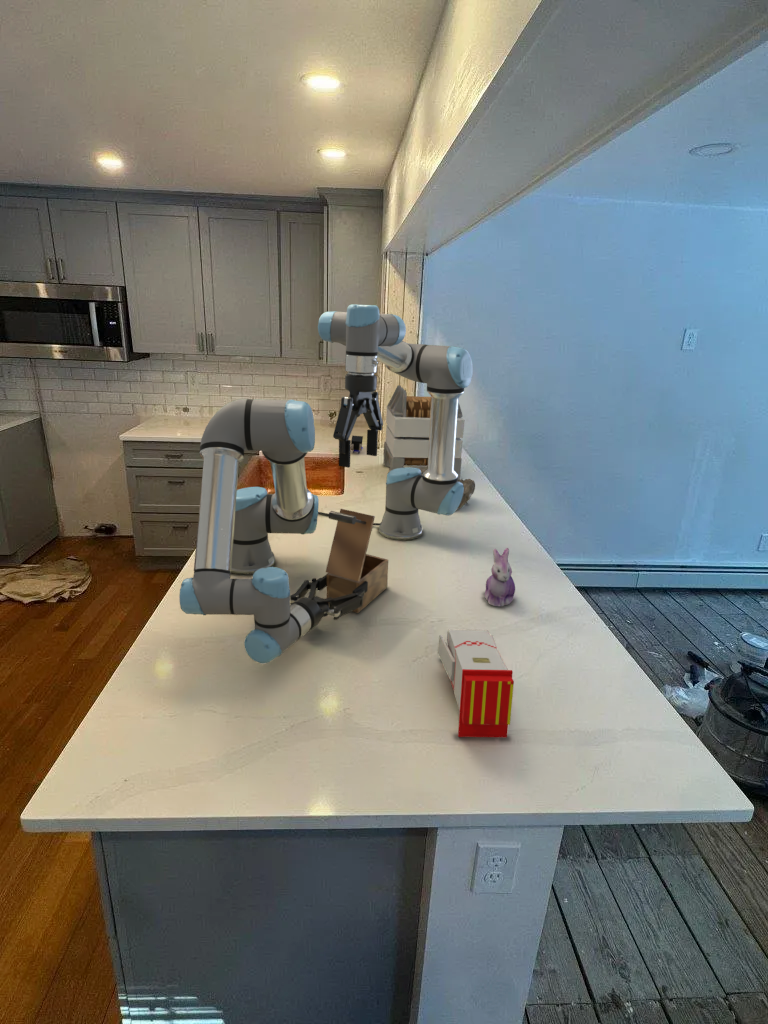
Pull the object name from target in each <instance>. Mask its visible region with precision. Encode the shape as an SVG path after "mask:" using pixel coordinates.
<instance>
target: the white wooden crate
mask: <svg viewBox="0 0 768 1024" xmlns="http://www.w3.org/2000/svg"><path fill="white" fill-rule="evenodd" d="M407 394H408V393H407V390H406V389H404V388H403V387H402V385H399V384H398V385H397V386H396V388H395V390H394V392H393V394H392V395H391V398H390V400H389V402H388V404H387V405H386V413H385V414H386V415H385V423H386V428H385V438H384V442H383V466H384V467H388V468H389V472H390V471H391V470H393V469H397V468H405V466H406V467H409V466H411V467H417V466H418V467H428V451H429V431H430V412H431V396H415V395H414V396H413V395H412V396H411V395H407ZM464 429H465V419H464V418H463V411H462V408H461V405H460V401H458V415H457V430H456V445H455V459H454V471H455V472H456V473H457V474H458V480H461V472H462V461H463V460H462V453H463V442H464V441H463V440H462V439H463V438H464V431H465V430H464Z"/></svg>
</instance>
